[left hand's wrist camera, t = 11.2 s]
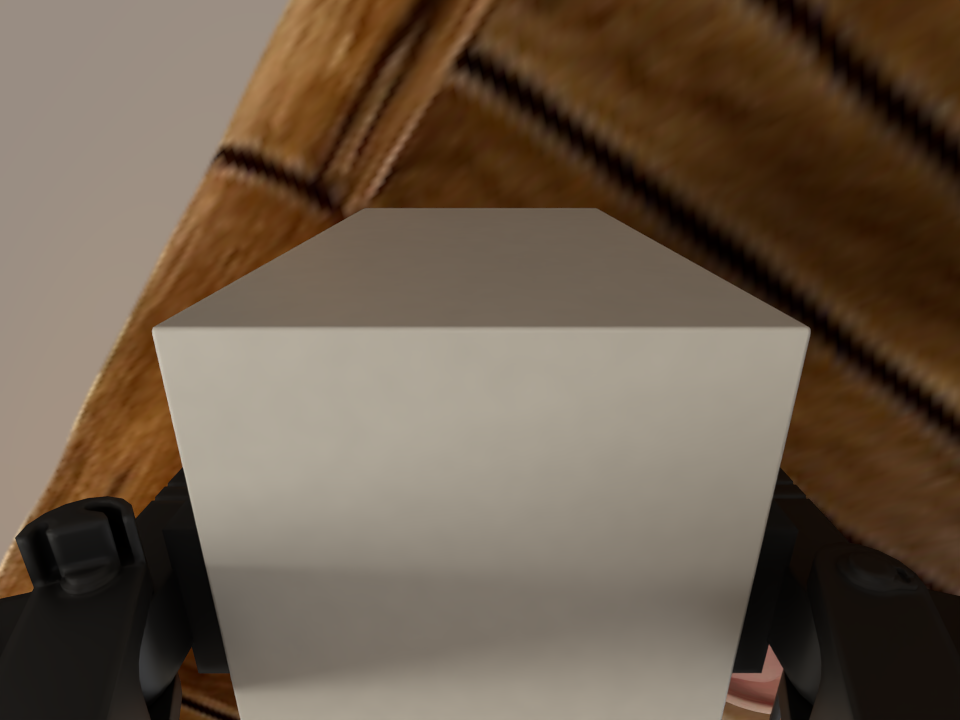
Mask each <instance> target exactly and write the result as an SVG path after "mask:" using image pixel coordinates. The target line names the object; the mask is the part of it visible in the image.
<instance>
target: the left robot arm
mask: <svg viewBox="0 0 960 720" xmlns="http://www.w3.org/2000/svg"><path fill="white" fill-rule="evenodd" d="M15 539H16V542H17V544H18V547H19V549H20V552H21V555H22V557H23V560H24V563H25V565H26V568H27V571H28V573H29V576H30V578H31V581H32V584H33V586H34V589H33V591H32V592H29V593H25V594H20V595H16V596H11V597H6V598H2V599H0V720H179V716H180V708H181V700H182V689H181V682H180V678H179V675H178V670H179V668H180V666H181V664H182V663H183V661H184V659H185V657H186V656H187V654H188V652H189V650H190V649H191V647H192V649H193V653H194V657H195V660H196V664H197V668H198V672H199V673H230V671H229V666H228V662H227V657H226V653H225V649H224V644H223V640H222V636H221V631H220V627H219V622H218V618H217V614H216V609H215V605H214V601H213V596H212V592H211V588H210V583H209V579H208V574H207V570H206V566H205V561H204V557H203V553H202V548H201V544H200V539H199V535H198V531H197V526H196V522H195V518H194V513H193V509H192V505H191V500H190V496H189V491H188V487H187V483H186V478H185V474H184V470H183V467H182V469H181V470H180V471H179V472H178V473H177V474H176V475H175V476H174V477H173V478H172V479H171V481H170V482H169V483H168V487H164V488H163V489H162V490H161V491H160V493H159V494H158V495H157V496H156V497H155V501H151V502H150V503H149V505H148V506H147V507H146V508H145V509H144V510H143V511H142V512H141V513H140V514H139V515H138V517H137V518H136V519H135V516H134V512H133V509H132V505H131V504H129V503H128V502H127V501H125V500H124V499H122V498H115V497H109V496H106V497H96V498H87V499H83V500H80V501H76V502H72V503H68V504H65V505H63V506H61V507H58V508H56V509H54V510H51V511H49V512H47V513H45V514H43V515H42V516H40V517H38V518H37V519H35V520H34V521H32V522H31V523H29V524H28V525H26V526H25V528H24V529H23V530H22V531H21V532H20V533H19V534H18V535H17V536H16V537H15ZM769 645H770V647H771V648H772V650H773V652H774V654H775V655H776V657H777V659H778V661H779V662H780V664H781V666H782V668H783V671H782V675H781V678H780V682H779V686H778V689H777V693H776V696H775V700H774V704H773V707H772V711H771V715H770V720H780V718H781V720H960V596H956V595H952V594H947V593H942V592H938V591H933V590H930V589H927V588H926V586H925V585H924V584H923V582H922V581H921V580H920V578H919V577H918V576H917V575H916V573H914V572H913V571H912V570H910V569H909V568H908V567H907V566H905V565H904V564H903V563H901V562H900V561H899V560H897V559H895V558H893V557H891V556H889V555H887V554H885V553H883V552H881V551H879V550H875V549H872V548H869V547H865V546H862V545H859V544H852V543H849V542H848V541H847V539H846V538H845V537H844V536H843V535H842V534H841V533H840V532H839V531H838V530H837V529H836V528H835V526H834V525H833V524H832V523H831V522H830V521H829V520H828V519H827V518H826V517H825V516H824V515H823V513H822V512H821V511H820V510H819V509H818V508H817V507H816V506H815V505H814V504H813V503H812V502H811V500H810V499H806V495H805V494H804V493H803V492H802V491H801V490H800V489H799V487H798V486H797V485H793V481H792V480H791V479H790V478H789V477H788V476H787V474H786V473H785V472H784V471H783V470H782V469H781V468H779V472H778V476H777V481H776V485H775V489H774V494H773V498H772V502H771V507H770V511H769V515H768V520H767V524H766V528H765V533H764V537H763V541H762V546H761V550H760V554H759V559H758V563H757V567H756V572H755V576H754V580H753V585H752V589H751V593H750V598H749V602H748V606H747V611H746V615H745V619H744V624H743V628H742V632H741V637H740V641H739V645H738V650H737V654H736V658H735V663H734V667H733V671H732V673H762V670H763V666H764V662H765V658H766V654H767V650H768V646H769Z"/></svg>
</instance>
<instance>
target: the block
mask: <svg viewBox="0 0 960 720" xmlns="http://www.w3.org/2000/svg"><path fill="white" fill-rule="evenodd" d="M152 334H153V339H154V343H155V347H156V352H157V356H158V360H159V365H160V369H161V373H162V378H163V382H164V387H165V391H166V395H167V400H168V404H169V408H170V413H171V417H172V422H173V426H174V430H175V435H176V439H177V443H178V448H179V452H180V456H181V461H182V465H183V470H184V474H185V478H186V483H187V487H188V491H189V496H190V500H191V505H192V509H193V513H194V518H195V522H196V526H197V531H198V535H199V539H200V544H201V548H202V553H203V557H204V561H205V566H206V570H207V574H208V579H209V583H210V588H211V592H212V596H213V601H214V605H215V609H216V614H217V618H218V622H219V627H220V631H221V636H222V640H223V644H224V649H225V653H226V657H227V662H228V666H229V671H230V675H231V679H232V684H233V688H234V692H235V697H236V701H237V705H238V710H239V714H240V719H241V720H721V719H722V715H723V710H724V706H725V702H726V697H727V693H728V689H729V684H730V680H731V676H732V671H733V667H734V663H735V658H736V654H737V650H738V645H739V641H740V637H741V632H742V628H743V624H744V619H745V615H746V611H747V606H748V602H749V598H750V593H751V589H752V585H753V580H754V576H755V572H756V567H757V563H758V559H759V554H760V550H761V546H762V541H763V537H764V533H765V528H766V524H767V520H768V515H769V511H770V507H771V502H772V498H773V494H774V489H775V485H776V481H777V476H778V472H779V468H780V463H781V459H782V455H783V450H784V446H785V442H786V437H787V433H788V429H789V424H790V420H791V416H792V411H793V407H794V403H795V398H796V394H797V390H798V386H799V381H800V377H801V373H802V368H803V364H804V360H805V355H806V351H807V347H808V342H809V338H810V334H811V331H810V328H809V327H808V326H806V325H804V324H802V323H801V322H799V321H797V320H795V319H793V318H792V317H790V316H788V315H786V314H784V313H783V312H781V311H779V310H777V309H776V308H774V307H772V306H770V305H768V304H767V303H765V302H763V301H761V300H759V299H758V298H756V297H754V296H752V295H750V294H749V293H747V292H745V291H743V290H742V289H740V288H738V287H736V286H734V285H733V284H731V283H729V282H727V281H725V280H724V279H722V278H720V277H718V276H717V275H715V274H713V273H711V272H709V271H708V270H706V269H704V268H702V267H700V266H699V265H697V264H695V263H693V262H691V261H690V260H688V259H686V258H684V257H683V256H681V255H679V254H677V253H675V252H674V251H672V250H670V249H668V248H666V247H665V246H663V245H661V244H659V243H657V242H656V241H654V240H652V239H650V238H649V237H647V236H645V235H643V234H641V233H640V232H638V231H636V230H634V229H632V228H631V227H629V226H627V225H625V224H624V223H622V222H620V221H618V220H616V219H615V218H613V217H611V216H609V215H607V214H606V213H604V212H602V211H600V210H598V209H596V208H365V209H363V210H361V211H359V212H357V213H356V214H354V215H352V216H350V217H348V218H347V219H345V220H343V221H341V222H340V223H338V224H336V225H334V226H332V227H331V228H329V229H327V230H325V231H324V232H322V233H320V234H318V235H316V236H315V237H313V238H311V239H309V240H308V241H306V242H304V243H302V244H301V245H299V246H297V247H295V248H293V249H292V250H290V251H288V252H286V253H285V254H283V255H281V256H279V257H277V258H276V259H274V260H272V261H270V262H269V263H267V264H265V265H263V266H261V267H260V268H258V269H256V270H254V271H253V272H251V273H249V274H247V275H246V276H244V277H242V278H240V279H238V280H237V281H235V282H233V283H231V284H230V285H228V286H226V287H224V288H222V289H221V290H219V291H217V292H215V293H214V294H212V295H210V296H208V297H206V298H205V299H203V300H201V301H199V302H198V303H196V304H194V305H192V306H191V307H189V308H187V309H185V310H183V311H182V312H180V313H178V314H176V315H175V316H173V317H171V318H169V319H167V320H166V321H164V322H162V323H160V324H159V325H157V326H155V327H153V330H152Z"/></svg>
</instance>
